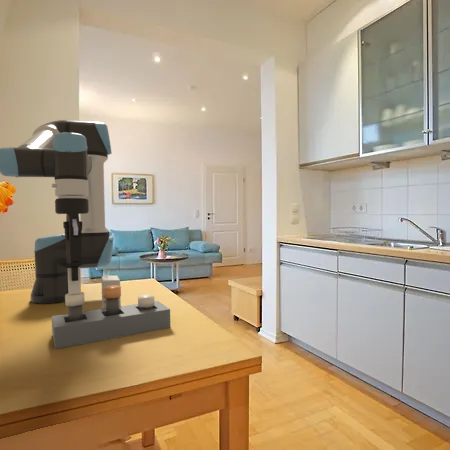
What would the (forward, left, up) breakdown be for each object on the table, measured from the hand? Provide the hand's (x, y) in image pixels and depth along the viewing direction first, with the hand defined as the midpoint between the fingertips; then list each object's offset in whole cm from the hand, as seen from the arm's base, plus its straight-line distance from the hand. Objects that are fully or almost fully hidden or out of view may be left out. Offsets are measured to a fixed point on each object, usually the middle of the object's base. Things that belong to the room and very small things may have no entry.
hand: (74, 293), depth 86 cm
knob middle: (0, +9, -7) cm, 12 cm away
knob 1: (0, 0, -8) cm, 8 cm away
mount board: (0, +9, -11) cm, 15 cm away
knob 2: (0, +18, -11) cm, 21 cm away
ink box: (-14, +11, -12) cm, 21 cm away
